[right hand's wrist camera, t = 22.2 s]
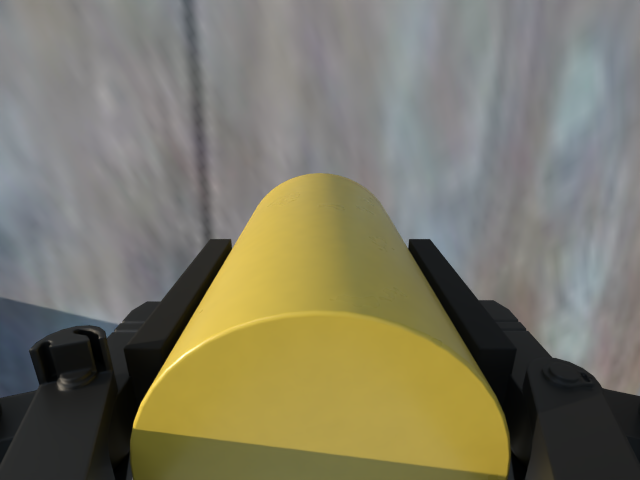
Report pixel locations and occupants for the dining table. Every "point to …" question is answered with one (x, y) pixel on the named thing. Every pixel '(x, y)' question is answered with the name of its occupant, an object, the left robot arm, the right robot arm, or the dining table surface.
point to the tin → (320, 359)
